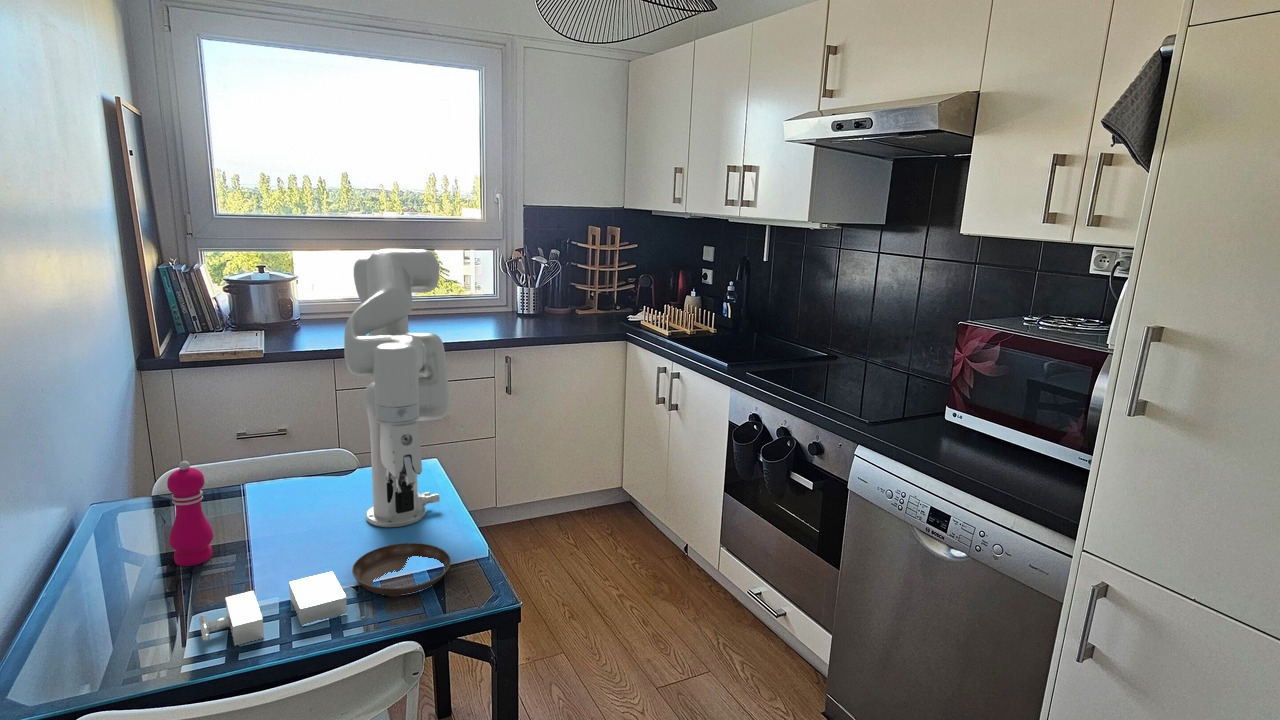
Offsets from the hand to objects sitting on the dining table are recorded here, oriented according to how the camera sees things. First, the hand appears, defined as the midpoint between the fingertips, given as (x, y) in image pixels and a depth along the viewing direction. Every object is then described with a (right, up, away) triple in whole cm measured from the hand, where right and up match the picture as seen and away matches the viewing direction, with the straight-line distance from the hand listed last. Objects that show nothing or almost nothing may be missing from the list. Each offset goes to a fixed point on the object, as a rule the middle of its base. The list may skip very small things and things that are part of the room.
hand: (400, 505), depth 135 cm
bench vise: (-17, -17, -12) cm, 26 cm away
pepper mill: (-42, -12, +7) cm, 44 cm away
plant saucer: (-1, -15, +3) cm, 15 cm away
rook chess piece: (0, -1, 0) cm, 2 cm away
